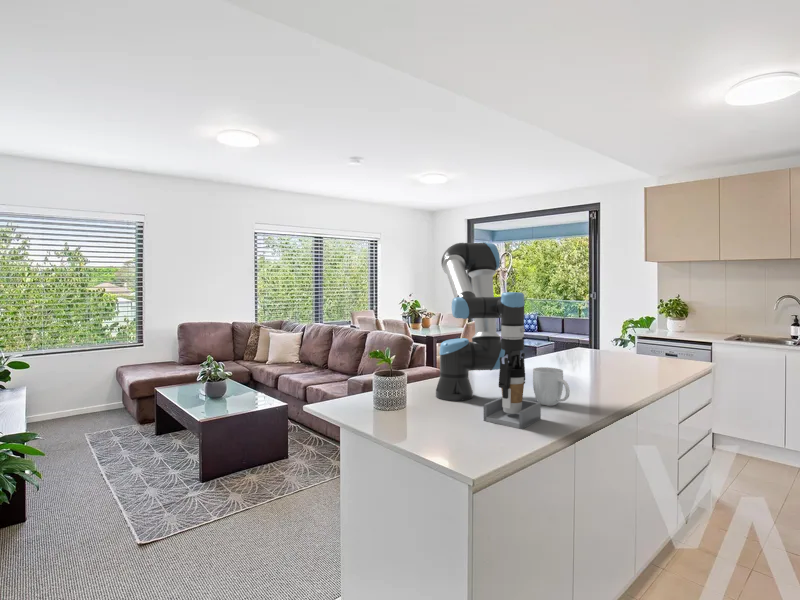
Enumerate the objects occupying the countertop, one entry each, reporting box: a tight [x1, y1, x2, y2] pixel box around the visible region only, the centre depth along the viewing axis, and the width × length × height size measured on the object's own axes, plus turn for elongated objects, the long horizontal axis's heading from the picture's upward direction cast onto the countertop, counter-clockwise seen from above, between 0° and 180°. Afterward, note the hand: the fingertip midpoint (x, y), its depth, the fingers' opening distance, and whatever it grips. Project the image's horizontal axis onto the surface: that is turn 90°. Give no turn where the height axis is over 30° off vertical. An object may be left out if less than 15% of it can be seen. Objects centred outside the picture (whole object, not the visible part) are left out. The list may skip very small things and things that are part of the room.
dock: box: [483, 396, 542, 430], centre depth 156 cm, size 14×14×6 cm
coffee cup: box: [500, 367, 526, 414], centre depth 155 cm, size 8×8×15 cm
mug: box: [532, 366, 571, 407], centre depth 174 cm, size 15×11×13 cm
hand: (512, 404), depth 156 cm, fingers closed on coffee cup, 7 cm apart
